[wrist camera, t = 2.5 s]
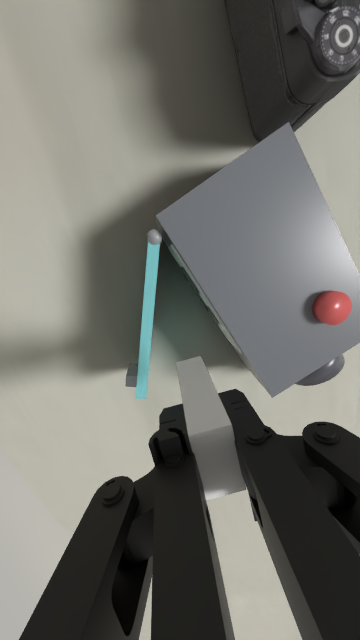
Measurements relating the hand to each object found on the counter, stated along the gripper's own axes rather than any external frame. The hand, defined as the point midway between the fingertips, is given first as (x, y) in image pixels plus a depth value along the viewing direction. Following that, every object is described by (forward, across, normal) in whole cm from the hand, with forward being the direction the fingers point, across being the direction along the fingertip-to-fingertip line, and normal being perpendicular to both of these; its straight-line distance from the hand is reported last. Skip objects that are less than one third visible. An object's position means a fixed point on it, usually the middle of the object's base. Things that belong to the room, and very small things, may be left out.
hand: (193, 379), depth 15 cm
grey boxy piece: (+11, +8, +3) cm, 14 cm away
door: (+10, -2, +4) cm, 11 cm away
